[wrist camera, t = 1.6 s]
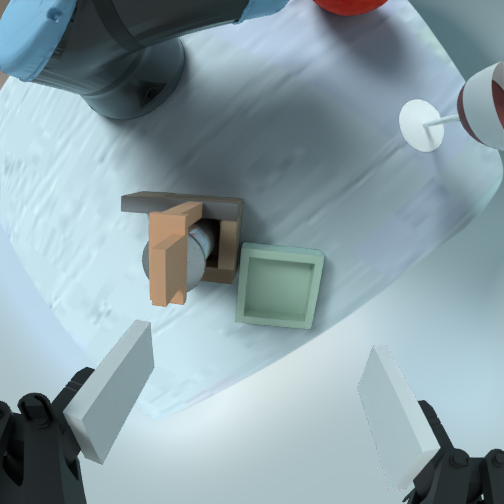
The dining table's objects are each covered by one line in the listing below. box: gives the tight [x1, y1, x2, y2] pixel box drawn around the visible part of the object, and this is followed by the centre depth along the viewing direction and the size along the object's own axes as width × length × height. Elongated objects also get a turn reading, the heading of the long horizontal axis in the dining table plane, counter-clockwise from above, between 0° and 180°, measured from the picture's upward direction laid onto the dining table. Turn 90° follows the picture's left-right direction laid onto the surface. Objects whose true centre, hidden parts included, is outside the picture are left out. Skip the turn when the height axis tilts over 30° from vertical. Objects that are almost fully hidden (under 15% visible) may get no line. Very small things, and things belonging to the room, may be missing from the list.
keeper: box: [149, 201, 203, 307], centre depth 25 cm, size 7×3×13 cm, turn 175°
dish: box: [235, 242, 324, 329], centre depth 38 cm, size 10×10×3 cm
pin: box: [142, 218, 221, 292], centre depth 31 cm, size 6×6×13 cm
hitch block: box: [121, 191, 243, 284], centre depth 35 cm, size 9×14×6 cm
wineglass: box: [399, 61, 504, 152], centre depth 23 cm, size 8×9×20 cm
